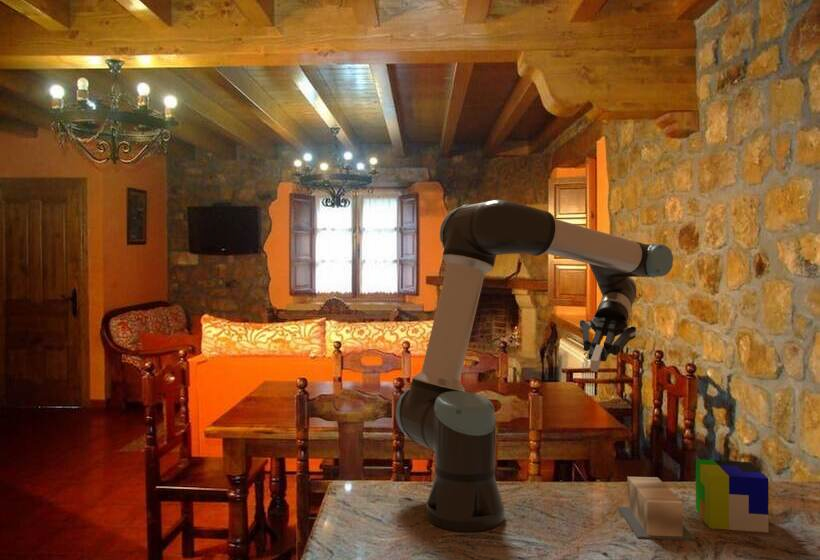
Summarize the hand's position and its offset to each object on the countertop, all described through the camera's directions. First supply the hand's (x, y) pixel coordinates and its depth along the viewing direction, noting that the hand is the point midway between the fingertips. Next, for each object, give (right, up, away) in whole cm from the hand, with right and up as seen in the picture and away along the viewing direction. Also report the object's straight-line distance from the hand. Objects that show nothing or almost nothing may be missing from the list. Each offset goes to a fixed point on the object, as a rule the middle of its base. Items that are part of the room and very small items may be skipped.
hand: (594, 365), depth 130 cm
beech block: (+8, -25, -6) cm, 27 cm away
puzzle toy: (+23, -28, -12) cm, 38 cm away
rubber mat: (+7, -28, -14) cm, 32 cm away
